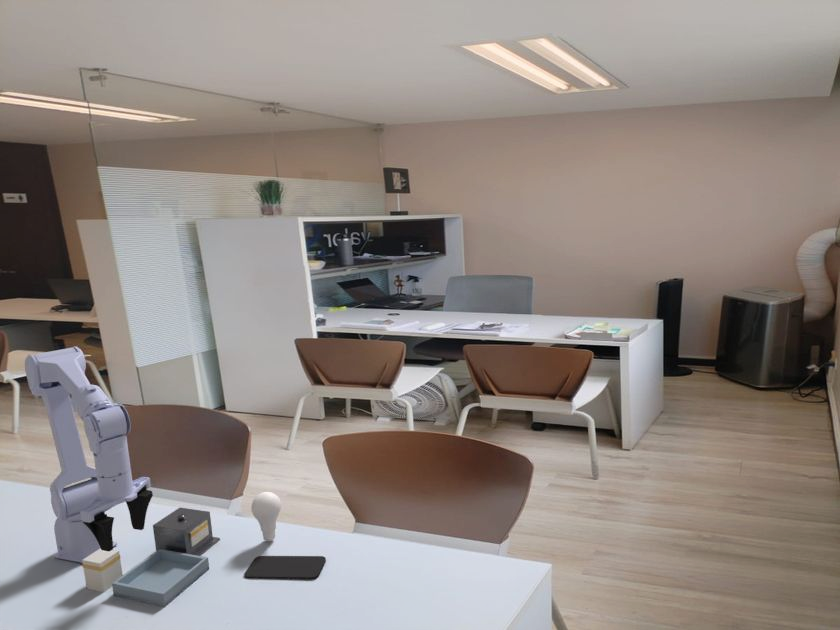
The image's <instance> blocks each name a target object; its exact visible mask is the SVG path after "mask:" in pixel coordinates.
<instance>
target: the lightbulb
mask: <svg viewBox="0 0 840 630" xmlns="http://www.w3.org/2000/svg"><path fill="white" fill-rule="evenodd" d="M281 508H282V503H281V499H280V497H279V496H278V495H277V494H276V493H273V492H271V491H263V492H261V493H260V492H259V494H257V495H256V496H255V497H254V499H252V502H251V512H252V515H253V517H254V518H255V520H257V522H258V524H259V526H260V527H259V528H260V531H261V532H262V539H263V540H264V541H265V542H272V541H273V540H275V538H276V528H277V519H278V517H279V514H280V512H281Z"/></svg>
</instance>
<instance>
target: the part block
mask: <svg viewBox="0 0 840 630" xmlns="http://www.w3.org/2000/svg"><path fill="white" fill-rule="evenodd" d="M82 562H83V563H82V568H83V573H84V579H85V586H86V589H87V590H91V591H92V590H93V591H98V592H103V593H106V592H107V591H108V590H110V589H111V588H112V583H113V582H114V581H116V580H117V579H119V578H120V577H121V576H123V575H124V574H123V569H122V563H121V554H120V550H117V549H116V550H115V549H113V550H111V551H104V550H101V548H100V549H99V550H97V551H95V552H94V553H92V554H91V555H89V556H88V557H86V558H85V559H83V560H82Z"/></svg>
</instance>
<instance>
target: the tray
mask: <svg viewBox="0 0 840 630" xmlns="http://www.w3.org/2000/svg"><path fill="white" fill-rule="evenodd" d="M154 552H155V553H154ZM154 552H153V553H151V554H152V555H151V554H150V555H149V556H147V557H146V558H145V559H143V560H142V561H141V562H139V563H138V564H136V565H135V566H134V567H133V568H131V569H130V570H128V571H127V572H126V573H124V574H123V576H121V577H120V578H119V579H117V580H116V581H114V582H113V583H112V587H111V588H112V592H113V593H112V594H113V596H114V597H119V598H124V599H128V600H133V601H137V602H144V603H148V604H152V605H157V606H162V607H166V606H168V605H169V604H170V603H171V602H172V601H174V600H175V599H177V597H178V596H180V595H181V594H182V593H183V592H184V591H185V590H186V589H188V588H189V587H190V586H191V585H192V584H194V583H195V582H196V581H197V580H198V579H200V578H201V577H202V576H203V575H204V574H205V573H207V572H208V571H209V570H210V563H209V557H206V556H202V555H201V556H197V555H191V554H185V553H180V552H174V551H168V550H163V549H159V550H157V551H156V550H155V551H154Z"/></svg>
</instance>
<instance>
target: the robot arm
mask: <svg viewBox="0 0 840 630" xmlns="http://www.w3.org/2000/svg"><path fill="white" fill-rule="evenodd" d="M86 369H87V364H86V357H85V354H84V352H83V351H82V349H80V347H78V346H72V347H68V348H67V347H66V348H62V349H57V350H52V351H47V352H46V351H45V352H41V353H36V354H33V353H32V354H28V355H27V356H26V358H25V359H24V372H25V375H26V379H27V383H28V384H27V385H28V387H29V390H30V391H31V395H33V396H39V397H41V398H42V401H43V403H44V406H45V410H46V415H47V419H48V422H49V426H50V429H51V430H50V431H51V434H52V438H53V441H54V446H55V450H56V454H57V458H58V461H59V465H60V470H61V472H60V473H59V474H58V475H57V477H56V478H54V480H53V481H52V482H51V484H50V485H49V492H50V503H51V508H52V510H53V514H54V515H55V517H56V519H55V522H54V526H53V527H54V528H53V529H54V530H53V531H54V537H55V542H56V547H57V550H56V551H57V553H55V554H54V558H55V559H61V560H65V561H71V562H75V563H81V564H83V562H82V560H83V559H85V558H86V557H88V556H89V555H91V554H92V553H94V552H95V551H97V550H99V549H100V548H101V550H104V551H111V550H114V549H113V548H114V547H116V546H117V545H118V542H117V541H114V539H113V524H114V522H115V521H114V520H115V517H113V516H108V515H107V513H105V512H107V511H109V510H111V509H112V508H114V507H115V506H117V505H120V504H123V503H126V505H127V508H128V512H129V516H130V517H129V518H130V522H131V525H132V529H133V530H140V531H142V530H145V523H146V517H147V512H148V508H149V505H150V502H151V501H152V498H153V496H154V494H153V491H152V490H149V488H151V487H152V484H151V483H152V482H151V478H150V477H147V476H141V477H138V478H136V479H134V480H133V476H132V475H133V474H132V468H131V462H130V461H131V459H130V454H129V445H128V436H127V435H129V434H130V432H131V429H132V427H131V426H132V425H131V420H130V415H129V413H128V410H127V409H126V407H125V406H124V405H123V404H121V403H118V402H112V401H111V399H110V398H109V397H108V395H107V394H106V393H105V392H104V391H103V389H102V388H101V387H100V386H98V385H95V384H91V383H90V381H89V379H88V377H87V376H86V374H85V373H86ZM74 411H75V412H76V414H77V415H78V417H79V418H80V419H81V421H82V422H83V429H84V432H85V436H86V438H87V441H88V445H89V446H88V447H89V449H90V452H92V453H93V460H94V461H93V462H94V466H91V465H88V464H87V459H86V454H85V451H84V448H83V443H82V439H81V436H80V432H79V429H78V423H77V420H76V416H75V412H74ZM77 482H78V483H77Z"/></svg>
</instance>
